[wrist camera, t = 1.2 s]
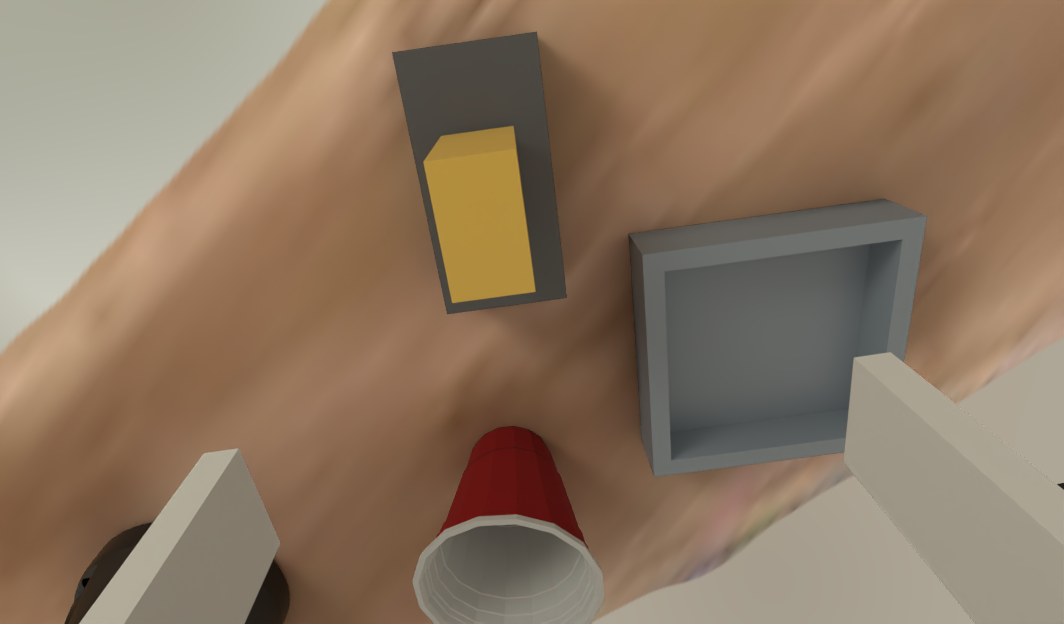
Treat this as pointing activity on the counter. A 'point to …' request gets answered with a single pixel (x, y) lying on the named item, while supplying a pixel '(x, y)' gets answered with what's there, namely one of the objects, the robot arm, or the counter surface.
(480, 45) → the block
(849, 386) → the parts tray
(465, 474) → the plastic cup
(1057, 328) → the counter surface
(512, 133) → the block
